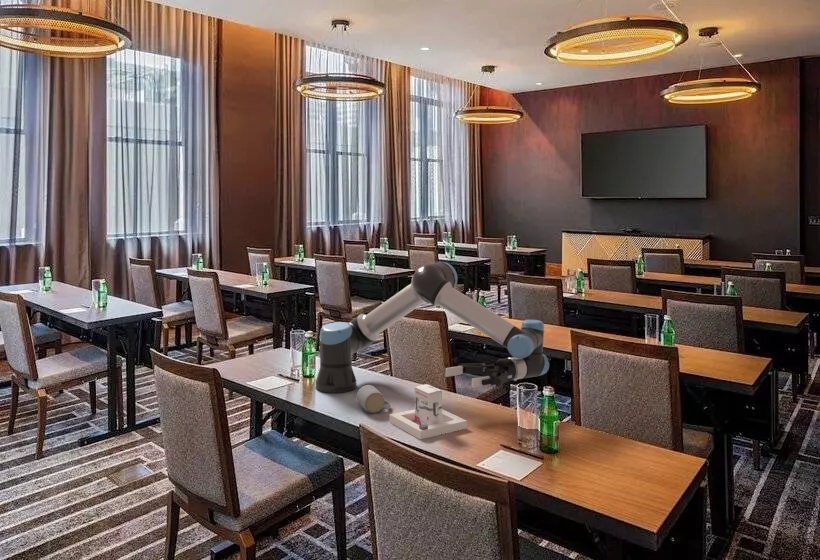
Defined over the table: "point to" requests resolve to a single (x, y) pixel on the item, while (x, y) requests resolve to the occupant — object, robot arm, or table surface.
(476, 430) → the table surface
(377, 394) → the ceramic mug
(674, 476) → the table surface
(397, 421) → the socket plate
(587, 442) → the table surface
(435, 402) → the ink box
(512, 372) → the robot arm
